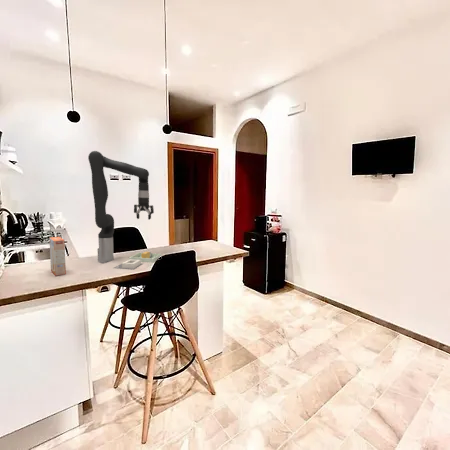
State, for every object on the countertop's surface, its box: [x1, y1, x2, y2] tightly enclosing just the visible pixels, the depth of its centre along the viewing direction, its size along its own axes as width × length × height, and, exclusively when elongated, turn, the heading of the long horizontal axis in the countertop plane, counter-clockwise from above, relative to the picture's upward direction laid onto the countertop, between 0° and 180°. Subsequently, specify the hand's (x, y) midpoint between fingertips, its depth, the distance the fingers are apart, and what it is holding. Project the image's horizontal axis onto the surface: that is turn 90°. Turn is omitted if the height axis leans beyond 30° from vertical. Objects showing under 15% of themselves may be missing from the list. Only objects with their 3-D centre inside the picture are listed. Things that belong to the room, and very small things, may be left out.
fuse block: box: [113, 258, 143, 271], centre depth 172 cm, size 14×14×4 cm
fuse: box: [141, 250, 152, 258], centre depth 191 cm, size 3×5×10 cm
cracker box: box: [48, 236, 67, 277], centre depth 156 cm, size 14×6×21 cm, turn 42°
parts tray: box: [128, 251, 162, 263], centre depth 190 cm, size 18×16×4 cm
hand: (143, 219), depth 192 cm, fingers open, 8 cm apart
